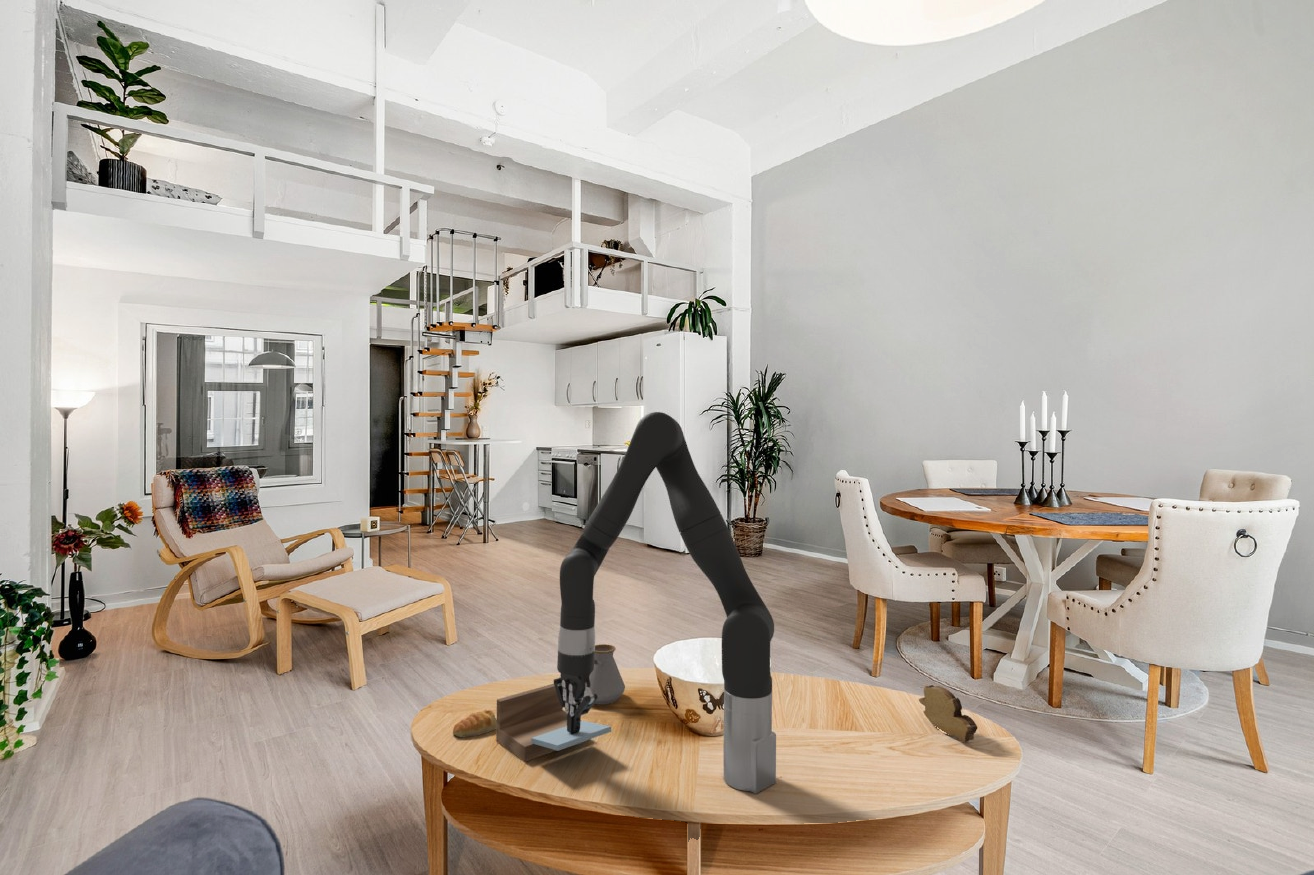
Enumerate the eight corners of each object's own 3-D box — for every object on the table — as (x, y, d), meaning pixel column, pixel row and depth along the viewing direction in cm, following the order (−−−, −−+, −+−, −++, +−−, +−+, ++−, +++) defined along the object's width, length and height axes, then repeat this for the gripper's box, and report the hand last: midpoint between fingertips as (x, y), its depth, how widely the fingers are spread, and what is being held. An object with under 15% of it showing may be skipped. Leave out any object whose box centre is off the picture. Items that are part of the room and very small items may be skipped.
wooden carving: (984, 747, 138) (984, 700, 139) (968, 750, 137) (968, 703, 137) (928, 717, 154) (928, 675, 154) (912, 719, 152) (912, 677, 153)
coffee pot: (586, 688, 170) (587, 632, 170) (629, 691, 168) (629, 634, 168) (562, 722, 148) (563, 657, 149) (610, 726, 147) (611, 660, 147)
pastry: (461, 743, 138) (461, 725, 138) (447, 733, 143) (447, 716, 143) (500, 730, 145) (500, 713, 145) (485, 721, 150) (485, 704, 150)
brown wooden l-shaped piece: (589, 738, 140) (589, 697, 141) (524, 761, 130) (525, 717, 130) (558, 720, 149) (559, 682, 150) (496, 741, 139) (496, 699, 139)
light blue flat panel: (530, 738, 131) (557, 745, 124) (583, 720, 140) (610, 726, 132) (531, 747, 131) (558, 755, 123) (584, 729, 139) (611, 735, 132)
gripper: (610, 652, 129) (607, 739, 129) (573, 636, 139) (570, 716, 139) (580, 660, 124) (576, 750, 124) (543, 642, 134) (540, 725, 134)
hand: (573, 732), depth 131 cm, fingers closed
